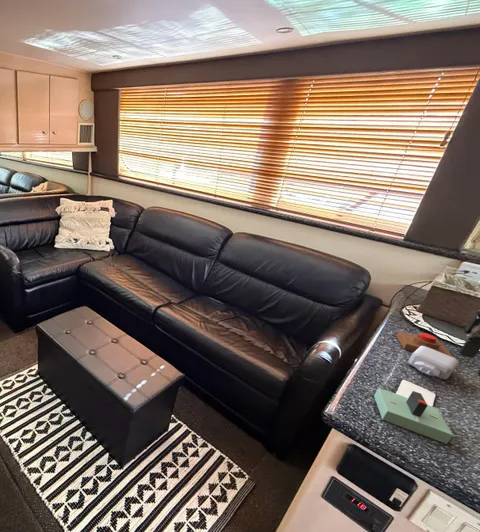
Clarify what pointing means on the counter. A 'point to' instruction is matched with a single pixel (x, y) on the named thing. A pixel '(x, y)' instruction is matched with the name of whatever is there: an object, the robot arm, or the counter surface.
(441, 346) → the button block
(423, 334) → the power button
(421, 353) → the charger
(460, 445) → the counter surface
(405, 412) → the panel
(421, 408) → the black block
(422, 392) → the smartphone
